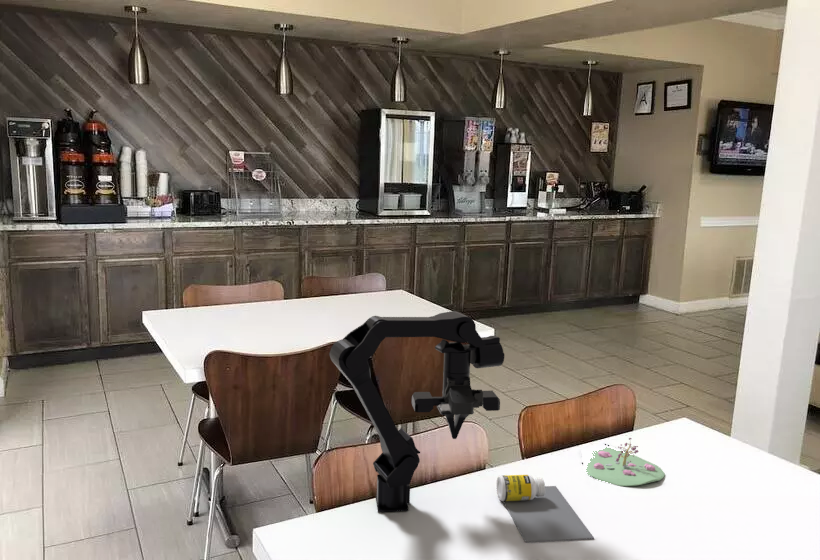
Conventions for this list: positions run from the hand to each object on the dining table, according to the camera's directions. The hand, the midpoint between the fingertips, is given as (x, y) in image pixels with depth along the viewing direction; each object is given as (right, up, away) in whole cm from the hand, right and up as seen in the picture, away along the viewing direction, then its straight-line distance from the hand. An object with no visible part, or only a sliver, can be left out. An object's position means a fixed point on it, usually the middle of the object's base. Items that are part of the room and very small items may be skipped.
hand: (454, 438), depth 146 cm
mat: (+18, -15, -5) cm, 24 cm away
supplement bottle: (+10, -11, -2) cm, 14 cm away
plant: (+42, -12, +20) cm, 48 cm away
